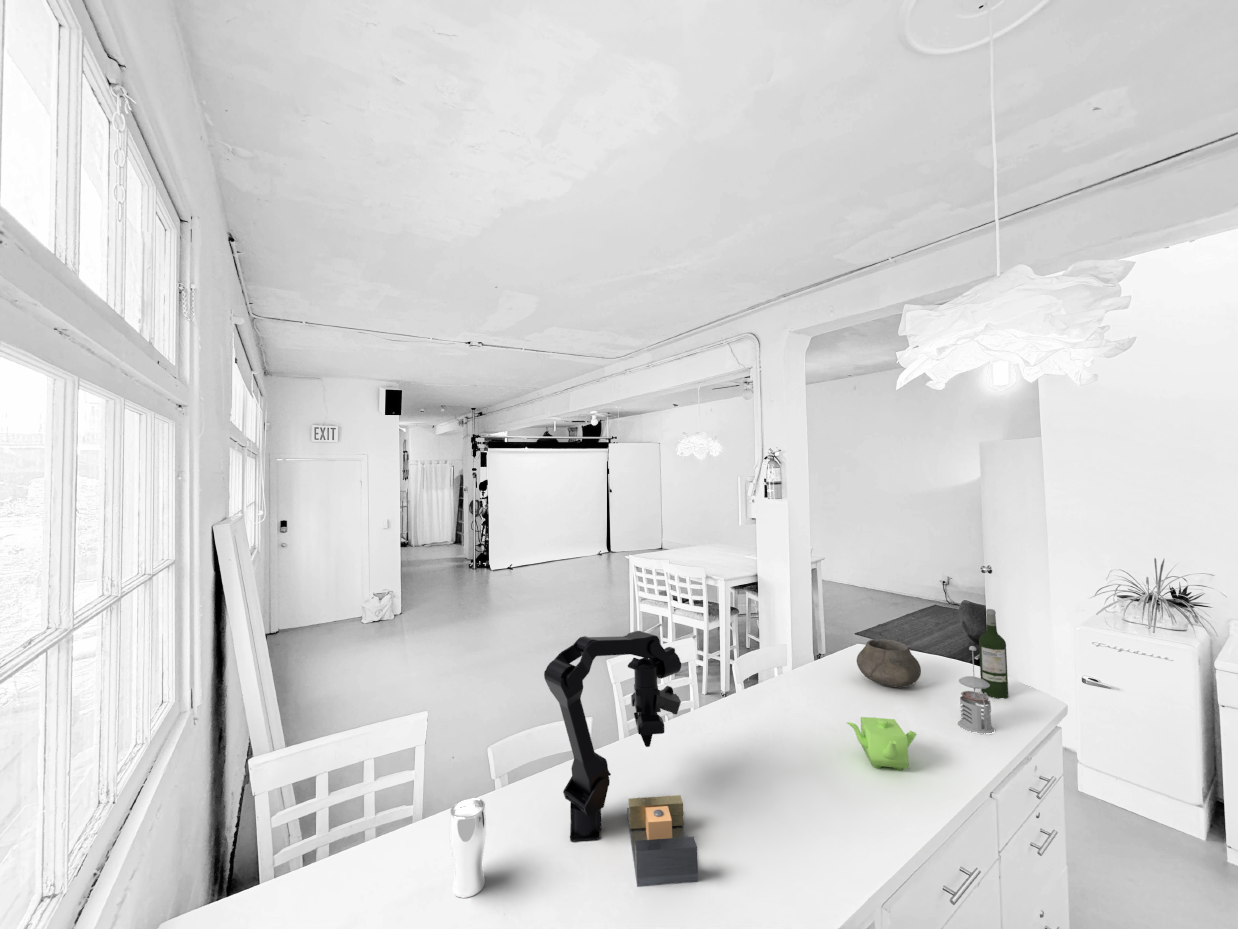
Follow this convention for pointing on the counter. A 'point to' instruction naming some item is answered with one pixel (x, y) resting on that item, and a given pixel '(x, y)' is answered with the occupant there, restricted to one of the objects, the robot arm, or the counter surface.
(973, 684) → the french press
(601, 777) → the robot arm
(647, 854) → the vise bed
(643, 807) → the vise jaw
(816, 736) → the counter surface
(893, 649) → the clay pot
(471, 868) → the beer glass
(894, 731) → the kettle
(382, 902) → the counter surface
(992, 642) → the wine bottle
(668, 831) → the block
